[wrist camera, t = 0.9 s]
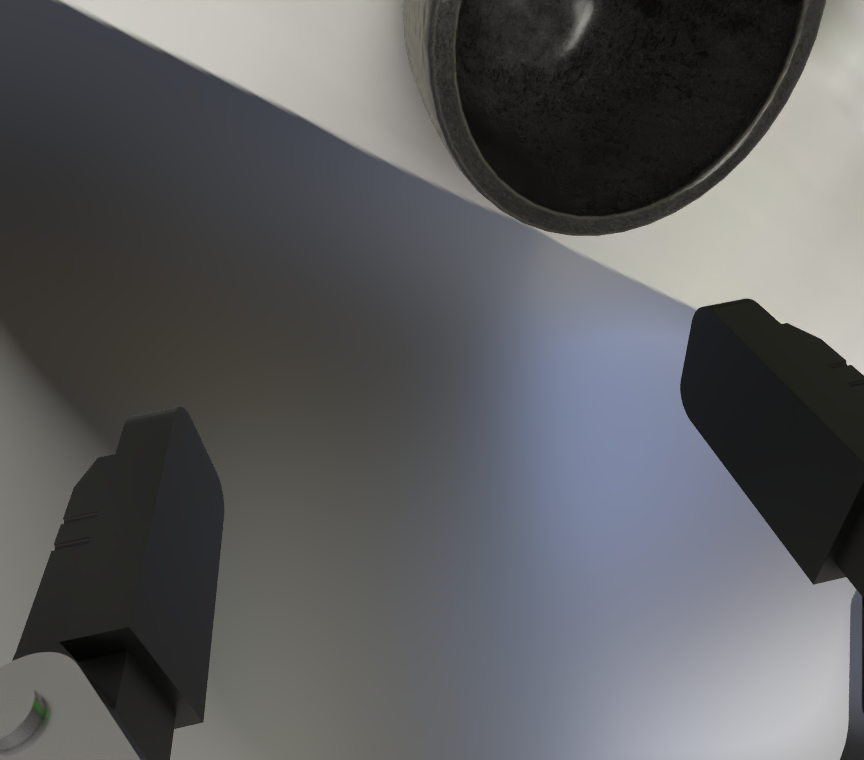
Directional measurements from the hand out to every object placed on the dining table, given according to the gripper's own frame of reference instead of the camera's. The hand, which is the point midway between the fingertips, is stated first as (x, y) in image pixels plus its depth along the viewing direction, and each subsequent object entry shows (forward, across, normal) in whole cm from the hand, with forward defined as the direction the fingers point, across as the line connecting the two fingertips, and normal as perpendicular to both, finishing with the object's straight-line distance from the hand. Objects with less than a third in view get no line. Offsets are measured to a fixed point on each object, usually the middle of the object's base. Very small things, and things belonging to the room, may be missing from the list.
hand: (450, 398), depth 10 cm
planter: (+27, -9, -1) cm, 29 cm away
